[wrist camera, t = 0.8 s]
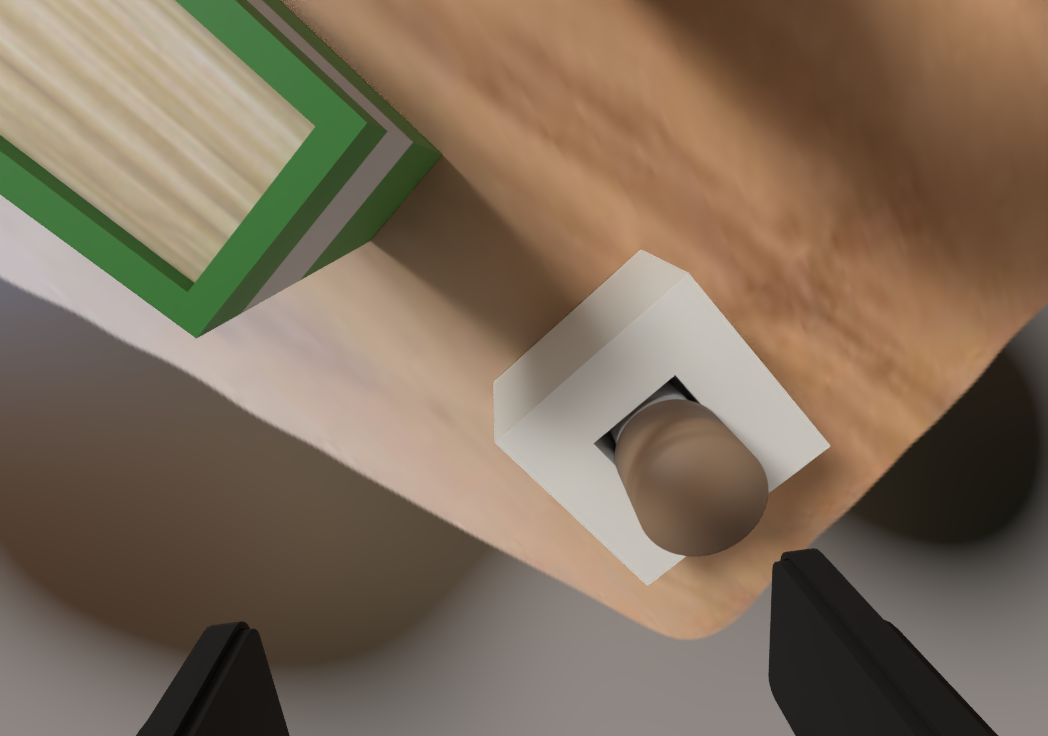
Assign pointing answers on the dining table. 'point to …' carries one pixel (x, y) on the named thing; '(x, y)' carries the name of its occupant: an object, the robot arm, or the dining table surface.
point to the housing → (638, 398)
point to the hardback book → (196, 146)
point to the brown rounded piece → (688, 475)
